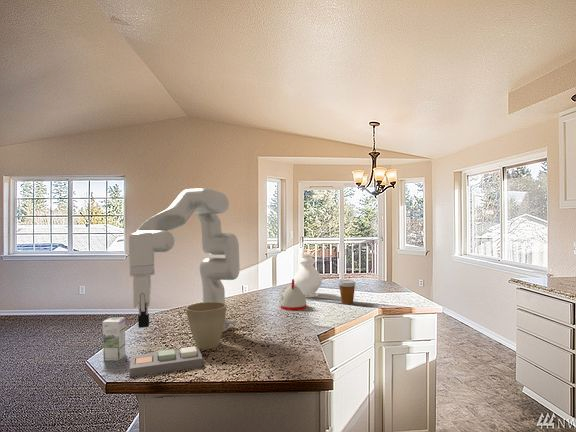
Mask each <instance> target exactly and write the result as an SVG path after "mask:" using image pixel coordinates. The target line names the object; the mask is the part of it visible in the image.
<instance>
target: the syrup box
mask: <svg viewBox="0 0 576 432" xmlns="http://www.w3.org/2000/svg"><path fill="white" fill-rule="evenodd" d="M102 348H103V349H102V350H103V351H102V352H103V361H104V360H113V361H121V360H122V359H123V358H124V357H125V356H126V355H127V350H126V317H108V318H106V319H104V320H103V321H102ZM120 359H121V360H120Z"/></svg>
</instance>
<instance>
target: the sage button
mask: <svg viewBox="0 0 576 432" xmlns="http://www.w3.org/2000/svg"><path fill="white" fill-rule="evenodd" d="M174 350H175V348H173V349H171V348H170V349H163V350H158V352H159V361H163V360H170V359H175V352H174Z"/></svg>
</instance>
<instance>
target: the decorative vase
mask: <svg viewBox="0 0 576 432" xmlns="http://www.w3.org/2000/svg"><path fill="white" fill-rule="evenodd" d="M300 256H301V258H300V260H299V263H300V265H301V267H300V268H299V269H298V270H297V271H296V272H295V274H294V277H293V279H294V285H295V286H297V287H298V288H299V289H300V290H301V291H302V293H303V294H305V298H315V297H318V296H319V293H318V292H317V291H318V290H319V289H320V287H321V285H322V284H323V278H322V275H321V273H320V272H319V270H317V269H316V268H315V267H314V266H313V265H314V264H315V262H316V259H315V258H313V257H314V254H311V253H310V254H305V253H304V254H301V255H300Z"/></svg>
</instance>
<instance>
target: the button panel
mask: <svg viewBox="0 0 576 432" xmlns="http://www.w3.org/2000/svg"><path fill="white" fill-rule="evenodd" d="M195 347H196V350H197V356H192V357H185V358H181V356H180V348H178V349H174V352H175V359H170V360H163V361H159V351H157V352H150V353H149V352H148V353H141V354H134V355H131V359H130V363H129V364H130V365H129V377H130V378H131V377H132V376H133V377H138V376H139V375H140V376H146V375H151V374H152V375H153V374H159V373H160V372H161V373H165V372H174V371H181V370H188V369H192V368H201V367H203V366H204V363H203V361H204V359H203V356H202V352H201V349H199V347H197V346H195ZM151 356H152V362H148V363H141V364H135V363H136V358H143V357H151ZM140 376H139V377H140ZM133 377H132V378H133Z"/></svg>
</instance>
